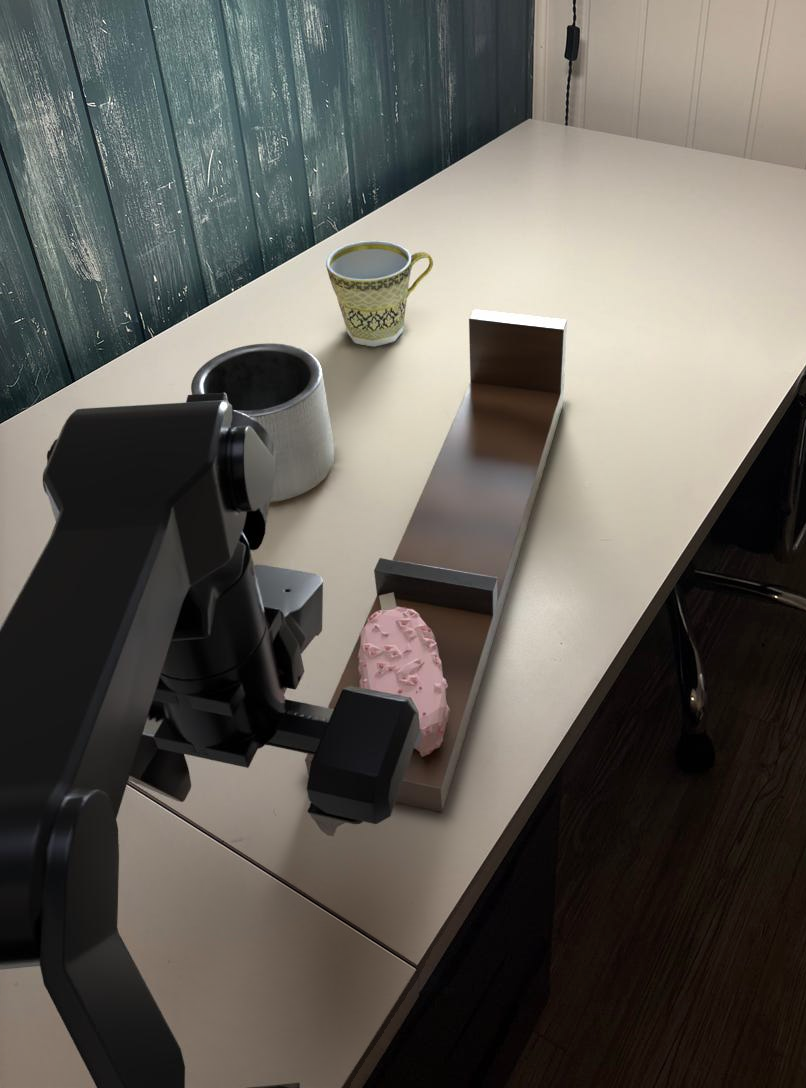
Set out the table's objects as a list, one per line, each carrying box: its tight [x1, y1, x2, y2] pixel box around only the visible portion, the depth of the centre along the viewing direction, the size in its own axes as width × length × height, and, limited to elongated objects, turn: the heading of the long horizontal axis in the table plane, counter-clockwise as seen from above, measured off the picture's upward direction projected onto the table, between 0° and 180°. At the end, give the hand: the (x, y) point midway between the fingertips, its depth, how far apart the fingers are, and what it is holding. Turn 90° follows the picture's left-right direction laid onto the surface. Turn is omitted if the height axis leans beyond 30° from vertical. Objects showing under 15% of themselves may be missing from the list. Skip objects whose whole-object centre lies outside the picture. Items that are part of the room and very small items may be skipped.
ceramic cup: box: [325, 240, 434, 348], centre depth 115 cm, size 13×10×10 cm
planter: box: [190, 342, 335, 503], centre depth 94 cm, size 13×13×11 cm
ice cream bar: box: [358, 592, 450, 757], centre depth 71 cm, size 6×4×15 cm
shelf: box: [304, 309, 568, 813], centre depth 83 cm, size 50×10×11 cm, turn 166°
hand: (258, 810), depth 54 cm, fingers open, 9 cm apart
